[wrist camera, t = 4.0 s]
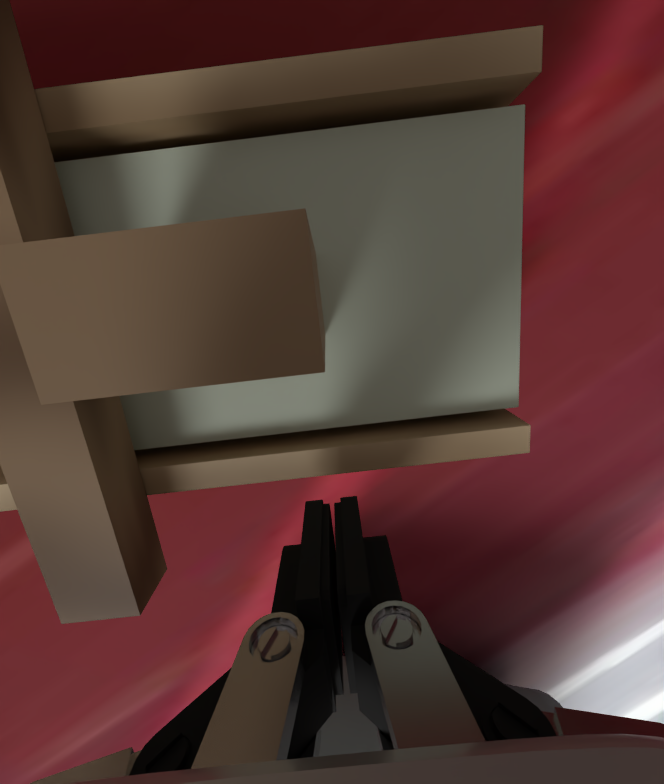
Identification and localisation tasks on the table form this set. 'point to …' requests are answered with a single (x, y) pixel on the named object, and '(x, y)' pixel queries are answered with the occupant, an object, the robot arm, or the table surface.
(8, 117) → the wooden bar
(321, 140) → the lid
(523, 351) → the table surface
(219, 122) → the toolbox
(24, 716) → the table surface
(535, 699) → the grey hat
